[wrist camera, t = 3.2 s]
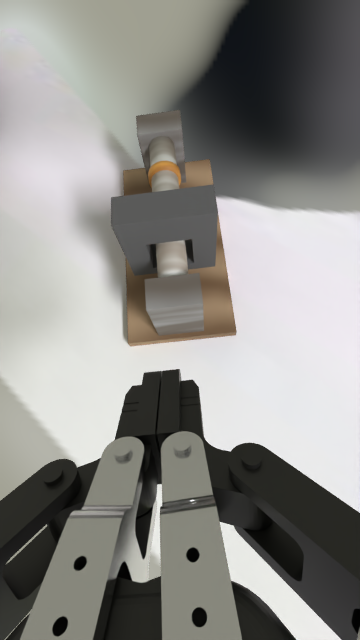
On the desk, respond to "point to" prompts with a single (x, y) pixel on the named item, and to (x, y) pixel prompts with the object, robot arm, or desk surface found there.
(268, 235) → the desk surface
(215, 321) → the pipe stand
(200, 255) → the gray notched block
